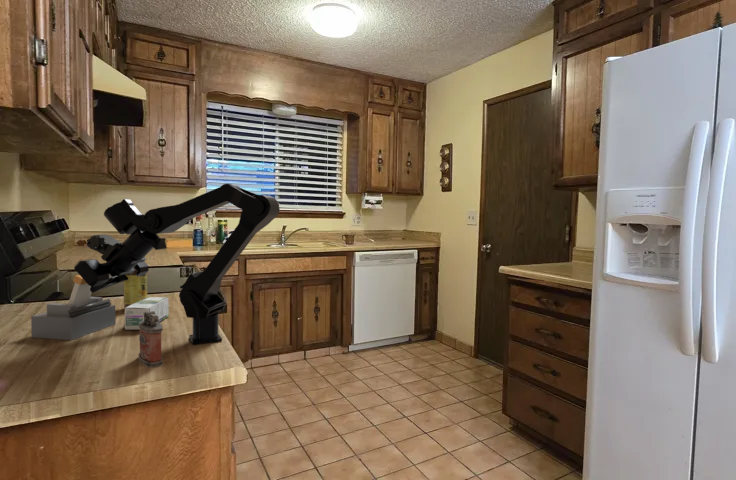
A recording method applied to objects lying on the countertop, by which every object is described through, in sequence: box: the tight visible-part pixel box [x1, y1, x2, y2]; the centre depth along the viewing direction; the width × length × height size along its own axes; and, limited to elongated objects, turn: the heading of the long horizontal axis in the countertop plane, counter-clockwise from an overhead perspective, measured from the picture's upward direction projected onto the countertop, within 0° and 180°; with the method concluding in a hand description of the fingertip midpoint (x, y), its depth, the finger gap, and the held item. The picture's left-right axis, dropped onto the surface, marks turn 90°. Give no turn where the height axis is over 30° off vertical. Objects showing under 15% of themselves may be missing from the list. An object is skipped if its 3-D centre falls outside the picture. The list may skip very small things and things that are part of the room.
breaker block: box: [30, 296, 116, 341], centre depth 100 cm, size 10×14×7 cm
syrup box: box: [124, 296, 170, 331], centre depth 109 cm, size 6×6×14 cm
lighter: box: [138, 311, 163, 368], centre depth 82 cm, size 8×3×10 cm, turn 45°
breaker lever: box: [67, 274, 93, 308], centre depth 100 cm, size 2×6×9 cm, turn 174°
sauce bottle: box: [123, 268, 148, 309], centre depth 124 cm, size 7×6×20 cm
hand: (92, 291), depth 100 cm, fingers closed
